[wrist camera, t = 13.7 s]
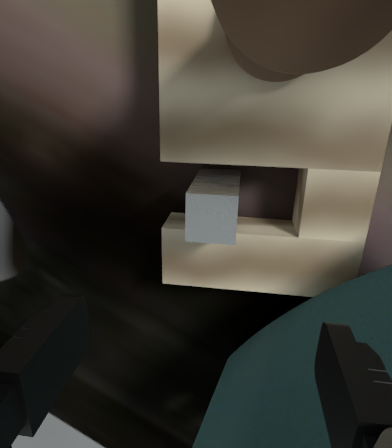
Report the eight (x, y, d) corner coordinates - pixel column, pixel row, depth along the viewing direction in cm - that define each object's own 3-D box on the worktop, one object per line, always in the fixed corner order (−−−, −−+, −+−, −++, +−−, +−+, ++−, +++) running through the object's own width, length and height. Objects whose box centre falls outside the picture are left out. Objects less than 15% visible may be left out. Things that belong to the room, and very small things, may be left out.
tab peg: (199, 205, 31) (184, 241, 24) (200, 168, 30) (185, 193, 23) (238, 208, 31) (235, 245, 23) (240, 170, 30) (238, 196, 22)
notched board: (169, -99, 24) (155, -135, 20) (417, -111, 22) (452, -153, 18) (171, 262, 34) (162, 283, 30) (340, 276, 32) (352, 300, 28)
